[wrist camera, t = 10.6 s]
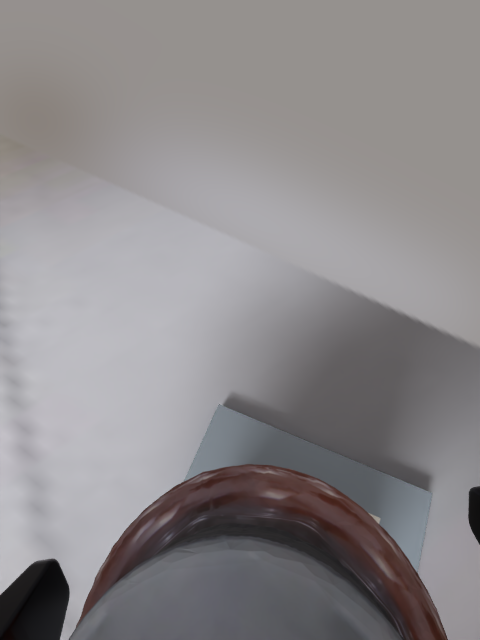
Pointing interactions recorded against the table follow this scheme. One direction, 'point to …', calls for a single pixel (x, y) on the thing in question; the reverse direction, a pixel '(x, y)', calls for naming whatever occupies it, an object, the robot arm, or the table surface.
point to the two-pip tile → (318, 473)
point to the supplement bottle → (257, 567)
